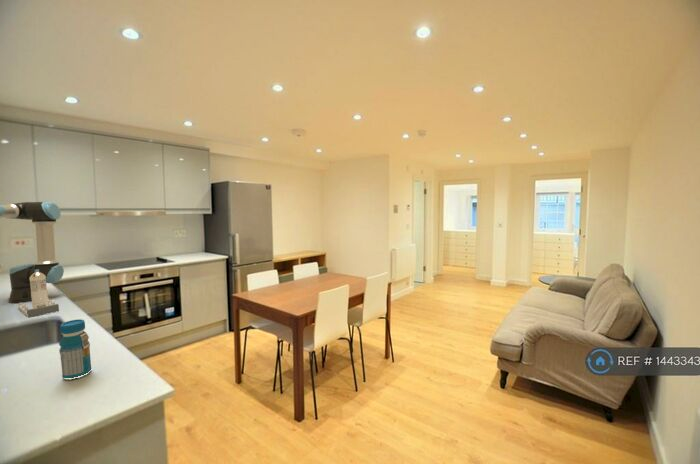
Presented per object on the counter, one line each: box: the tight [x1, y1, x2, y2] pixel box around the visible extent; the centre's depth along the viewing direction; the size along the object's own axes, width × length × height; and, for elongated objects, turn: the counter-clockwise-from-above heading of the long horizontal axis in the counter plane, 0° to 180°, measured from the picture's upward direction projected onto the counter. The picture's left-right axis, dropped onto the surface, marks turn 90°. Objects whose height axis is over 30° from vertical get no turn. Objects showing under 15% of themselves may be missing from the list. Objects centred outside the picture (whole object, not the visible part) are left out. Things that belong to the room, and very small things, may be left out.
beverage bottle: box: [58, 318, 92, 379], centre depth 116 cm, size 8×8×20 cm
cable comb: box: [17, 297, 56, 318], centre depth 190 cm, size 26×13×4 cm, turn 54°
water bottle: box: [29, 270, 49, 309], centre depth 185 cm, size 7×7×25 cm
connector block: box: [27, 303, 60, 318], centre depth 182 cm, size 2×13×4 cm, turn 144°
